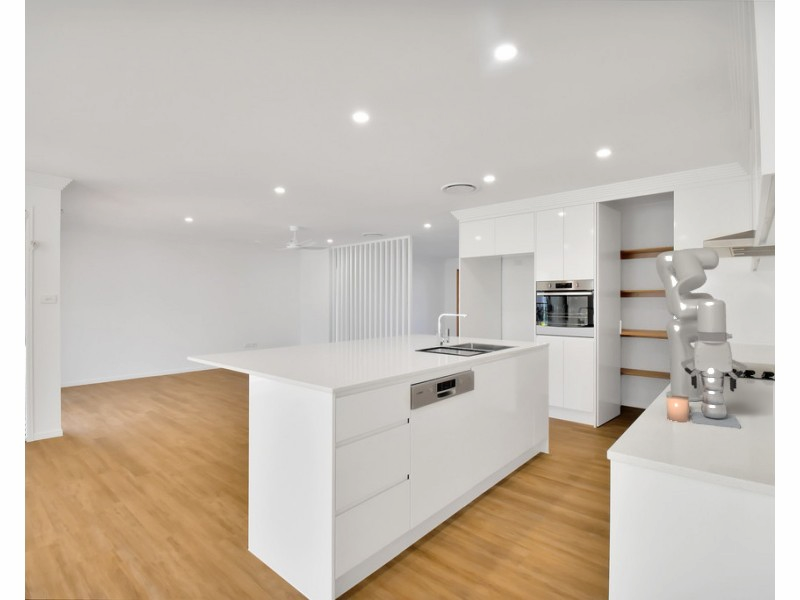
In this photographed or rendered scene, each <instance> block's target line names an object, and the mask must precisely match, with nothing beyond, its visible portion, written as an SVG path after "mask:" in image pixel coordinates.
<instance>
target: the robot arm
mask: <svg viewBox="0 0 800 600" xmlns="http://www.w3.org/2000/svg"><path fill="white" fill-rule="evenodd" d="M719 263H720V256H719V254H718V252H717V250H715V249H714V248H712V247H698V248H697V247H694V248H683V249H677V250H668V251H663V252H661V253H659V254H658V255H657V256H656V261H655V265H656V272H657V274H658V276H659V278H660V280H661V282H662V283H663V287H664V293H665V300H666V301H665V302H666V307H667V311H668V313H669V314H670V315H671V316H673V317H675V318H673V319H671V320H669V321H668V322H667V324H666V327H665V328H666V329H665V330H666V335H667V339H668V348H669V367H670V368H669V371H670V372H669V375H670V376H669V378H670V390H669V391H667V392H666V396H667V397H672V395H678V396H688V397H689V402H699V401H703V393H701V392H700V391H701V389H700V388H701V387H700V386H701V385H700V371H702V372H703V371H705V370H707V369H710V368H714V369H717V370H719V371H720V372H722V373H725V374H728V375H729V376H730V377H729V389H730V392H732V393H733V392H735V389H737V379H738V378H739V377H741V376H742V375H744V373H745V372H746V370H747V369H748V366H747V365H746V364H744V363H742V362H740V361H737V360H736V359H733V355H732V348H731V343H730V341H728V340H730V339H733V334H732V333H728V332H727V308H726V307H727V306H726V302H725V301H724V300H722V299H717V298H714V297H713V295H712V294H710V293H708V292H692V291H695V290H698V289H699V288H701V287H702V286H704V285H705V284H706V283H707V279H708V278H707V277H708V276H707V275H706V273H705V271H709V270H715V269H716V268H717V267H718V266H719ZM691 343H694V345H692V344H691ZM734 365H735V366H736V367H739V369H738V370H737V371H736V372H734V371H733V369H734Z"/></svg>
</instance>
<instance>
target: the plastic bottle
mask: <svg viewBox="0 0 800 600" xmlns="http://www.w3.org/2000/svg"><path fill="white" fill-rule="evenodd" d="M699 376H700V380H701V386H702V395H703V400H702V403H701V407H700V408H701V409H700V410H701V412H702V413H703V415H704V416H706V417H710V418H724V417H725V416H726V415H727V412H728V411H727V406H726V403H725V396H724V388H725V387H724V384H725V379H726V373H722V372H720V371H719V370H717V369H714V368H710V369H707V370H705V371H703V372H702V371H699Z"/></svg>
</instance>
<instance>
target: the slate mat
mask: <svg viewBox="0 0 800 600" xmlns="http://www.w3.org/2000/svg"><path fill="white" fill-rule="evenodd" d="M690 415H692V416H691V420H692V423H693V424H698V423H701V424H700V425H707V424H708V425H709V426H715V425H717V427H724V426H726V427H727V428H733V427H735V428H734V429H741V424H740V422H739V421H738V420H739V419H738V418H737V417H736V415H733V414H726V416H725V417H724V418H710V417H706V416H704V415H703V413H702V411H695V410H694V411H693V410H691V411H690ZM726 427H725V428H726Z"/></svg>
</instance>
